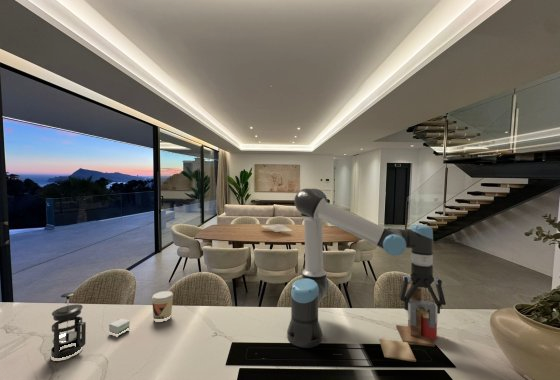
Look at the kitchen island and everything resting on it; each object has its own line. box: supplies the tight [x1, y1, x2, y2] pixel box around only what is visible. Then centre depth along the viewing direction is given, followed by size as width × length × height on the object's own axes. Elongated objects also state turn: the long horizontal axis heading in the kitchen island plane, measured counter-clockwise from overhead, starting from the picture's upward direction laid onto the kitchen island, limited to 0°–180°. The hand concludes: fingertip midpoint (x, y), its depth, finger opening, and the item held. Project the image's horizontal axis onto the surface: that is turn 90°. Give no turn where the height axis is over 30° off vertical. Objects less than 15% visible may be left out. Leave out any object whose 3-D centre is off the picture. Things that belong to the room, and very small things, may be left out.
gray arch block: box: [407, 300, 436, 328], centre depth 98 cm, size 9×3×9 cm, turn 77°
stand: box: [395, 283, 436, 348], centre depth 103 cm, size 12×20×22 cm, turn 167°
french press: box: [50, 291, 87, 358], centre depth 94 cm, size 12×9×23 cm
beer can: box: [421, 309, 438, 341], centre depth 107 cm, size 7×7×12 cm
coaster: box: [379, 338, 417, 363], centre depth 97 cm, size 11×11×1 cm
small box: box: [108, 317, 131, 334], centre depth 107 cm, size 6×6×5 cm
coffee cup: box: [151, 290, 174, 320], centre depth 119 cm, size 9×9×12 cm
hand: (421, 319), depth 98 cm, fingers closed on gray arch block, 9 cm apart
